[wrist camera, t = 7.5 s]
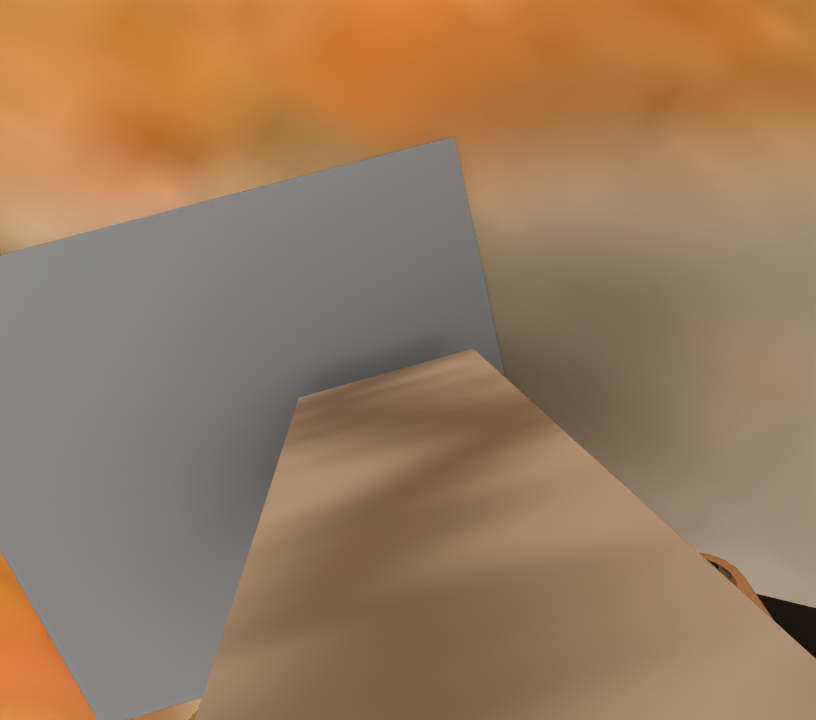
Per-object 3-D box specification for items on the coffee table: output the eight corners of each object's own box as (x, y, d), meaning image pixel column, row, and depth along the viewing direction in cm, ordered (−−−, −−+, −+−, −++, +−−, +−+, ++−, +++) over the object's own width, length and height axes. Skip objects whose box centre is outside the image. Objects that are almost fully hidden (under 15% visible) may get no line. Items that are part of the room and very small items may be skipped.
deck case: (473, 348, 13) (934, 765, 3) (520, 555, 15) (904, 1274, 5) (298, 397, 13) (88, 1053, 3) (368, 601, 15) (410, 1467, 4)
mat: (451, 139, 17) (454, 136, 16) (546, 584, 22) (551, 592, 21) (-133, 292, 16) (-148, 293, 15) (107, 716, 21) (102, 727, 20)
